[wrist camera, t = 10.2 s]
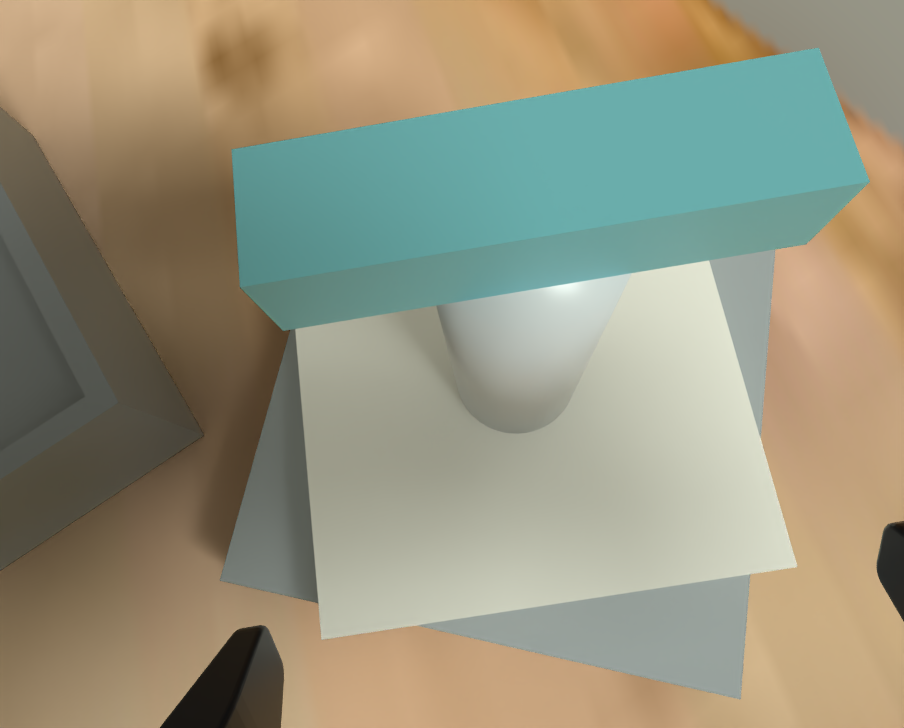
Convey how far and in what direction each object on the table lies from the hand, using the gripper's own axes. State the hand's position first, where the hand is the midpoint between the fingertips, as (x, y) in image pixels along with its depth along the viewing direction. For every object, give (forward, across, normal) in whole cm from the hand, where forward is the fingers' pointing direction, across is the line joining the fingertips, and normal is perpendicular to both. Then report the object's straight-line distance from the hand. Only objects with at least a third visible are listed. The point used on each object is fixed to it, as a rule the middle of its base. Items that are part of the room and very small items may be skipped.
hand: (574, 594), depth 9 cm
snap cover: (+8, 0, +1) cm, 9 cm away
